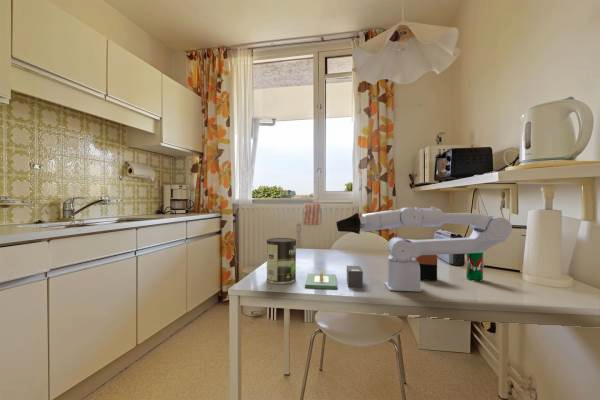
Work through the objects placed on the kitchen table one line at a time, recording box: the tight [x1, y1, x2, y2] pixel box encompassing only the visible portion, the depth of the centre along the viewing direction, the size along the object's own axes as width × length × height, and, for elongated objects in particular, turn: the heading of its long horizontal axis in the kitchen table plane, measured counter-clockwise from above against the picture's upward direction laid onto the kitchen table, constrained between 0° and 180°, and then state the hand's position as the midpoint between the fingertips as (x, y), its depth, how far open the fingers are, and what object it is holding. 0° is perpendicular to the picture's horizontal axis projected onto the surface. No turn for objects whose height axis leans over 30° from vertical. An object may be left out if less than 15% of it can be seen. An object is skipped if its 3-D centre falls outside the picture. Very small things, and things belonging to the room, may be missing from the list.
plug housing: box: [346, 265, 364, 288], centre depth 96 cm, size 5×8×5 cm, turn 174°
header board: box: [304, 269, 338, 290], centre depth 97 cm, size 10×14×4 cm
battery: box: [414, 255, 438, 282], centre depth 102 cm, size 4×7×10 cm, turn 74°
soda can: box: [465, 252, 484, 282], centre depth 102 cm, size 5×5×12 cm
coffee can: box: [266, 237, 297, 285], centre depth 100 cm, size 10×10×14 cm
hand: (337, 226), depth 94 cm, fingers open, 7 cm apart
